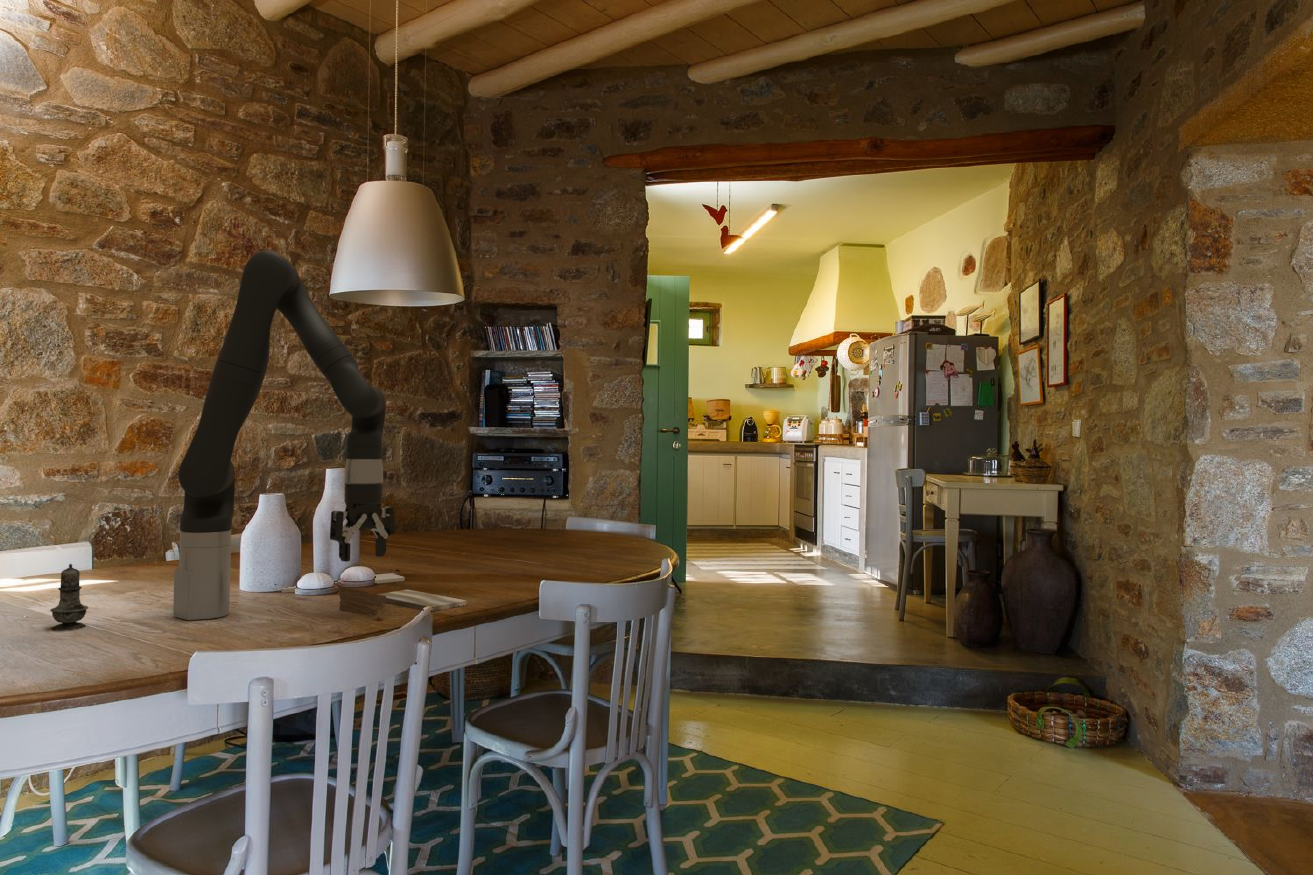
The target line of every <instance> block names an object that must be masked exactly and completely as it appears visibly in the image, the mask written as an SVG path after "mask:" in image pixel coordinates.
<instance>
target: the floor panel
mask: <svg viewBox="0 0 1313 875" xmlns="http://www.w3.org/2000/svg"><path fill="white" fill-rule="evenodd" d="M377 594H378V595H384V596H386V604H392V605H394V604H396V605H395V606H399V605H400V607H405V608H410V609H415V610H420V611H423V610H422V609H423V608H424V607H426V606H431V607H432V608H433V610H434V612H439V611H443V610H449V609H454V608H459V607H463V605H464V606H467V603H468V601H467V600H464V599H460V598H455V597H449V596H444V595H439V594H433V593H428V592H422V591H418V590H412V589H401V590H395V591H390V592H384V593H377ZM458 606H459V607H458ZM453 607H454V608H453ZM435 610H436V611H435ZM438 610H439V611H438Z"/></svg>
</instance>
